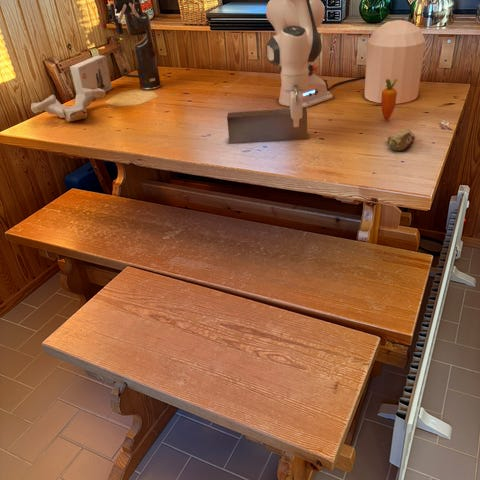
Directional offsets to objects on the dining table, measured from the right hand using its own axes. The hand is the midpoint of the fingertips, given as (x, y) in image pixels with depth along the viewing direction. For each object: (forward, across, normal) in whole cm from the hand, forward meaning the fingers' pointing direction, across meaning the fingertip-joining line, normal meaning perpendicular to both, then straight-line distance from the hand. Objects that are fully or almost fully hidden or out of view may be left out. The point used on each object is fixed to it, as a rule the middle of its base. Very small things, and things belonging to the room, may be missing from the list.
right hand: (295, 122), depth 158 cm
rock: (+5, -13, -33) cm, 36 cm away
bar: (+5, 0, +10) cm, 11 cm away
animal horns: (+5, +33, +91) cm, 97 cm away
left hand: (-28, +31, +60) cm, 73 cm away
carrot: (+5, +9, -33) cm, 35 cm away
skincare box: (+5, +66, +92) cm, 113 cm away
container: (+5, +37, -40) cm, 55 cm away
